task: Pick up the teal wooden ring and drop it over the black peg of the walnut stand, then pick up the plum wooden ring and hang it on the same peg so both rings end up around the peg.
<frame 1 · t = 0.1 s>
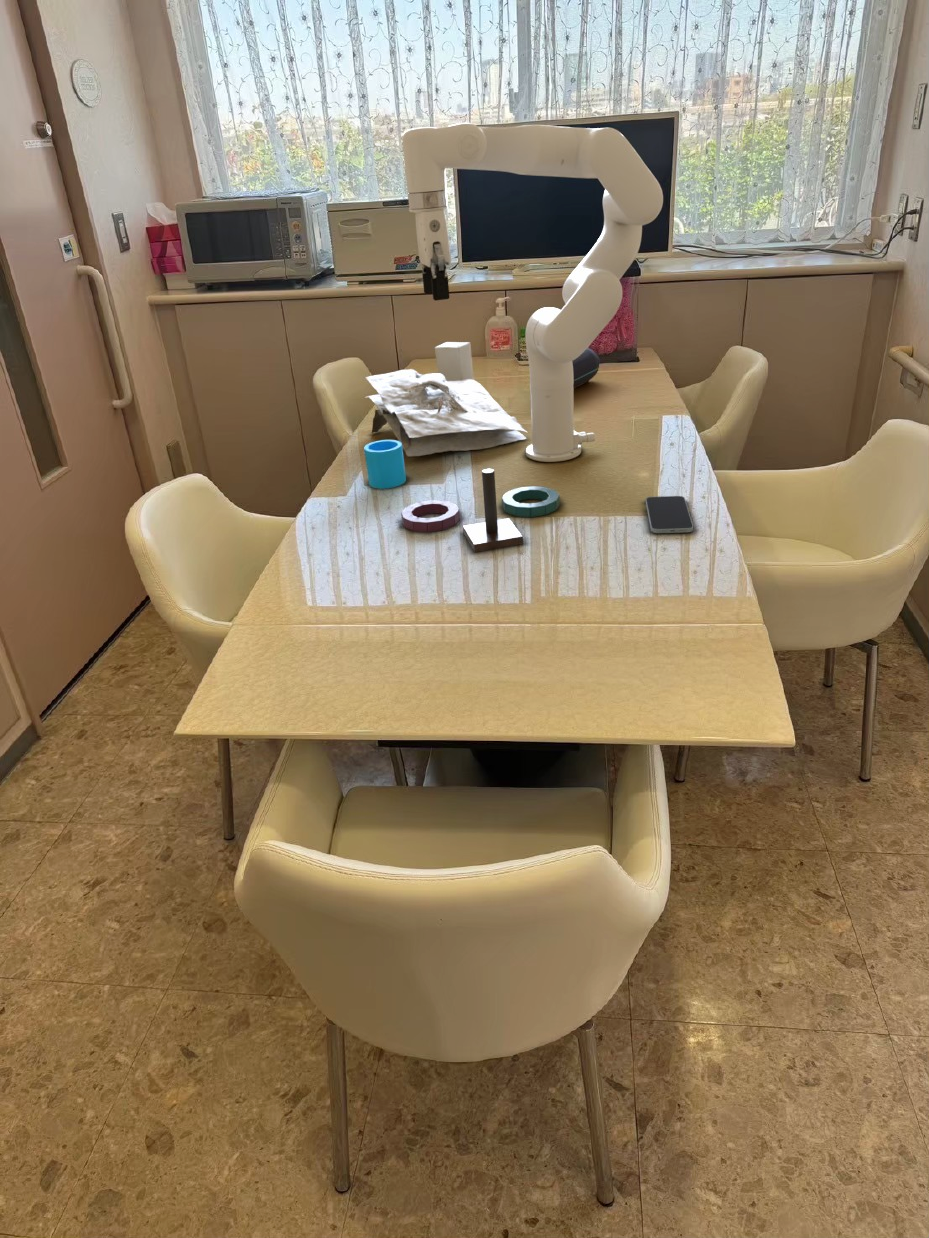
hand: (436, 296, 168), 37 cm above the table, tool pointing down, fingers open, 9 cm apart
teal ring: (530, 506, 163), on the table
cosmetic box: (457, 401, 236), on the table
plum ring: (431, 520, 161), on the table
portable speaker: (566, 390, 236), on the table
mug: (390, 479, 184), on the table
plastic wrap: (445, 435, 209), on the table
smartphone: (668, 517, 153), on the table
peg stand: (492, 538, 151), on the table
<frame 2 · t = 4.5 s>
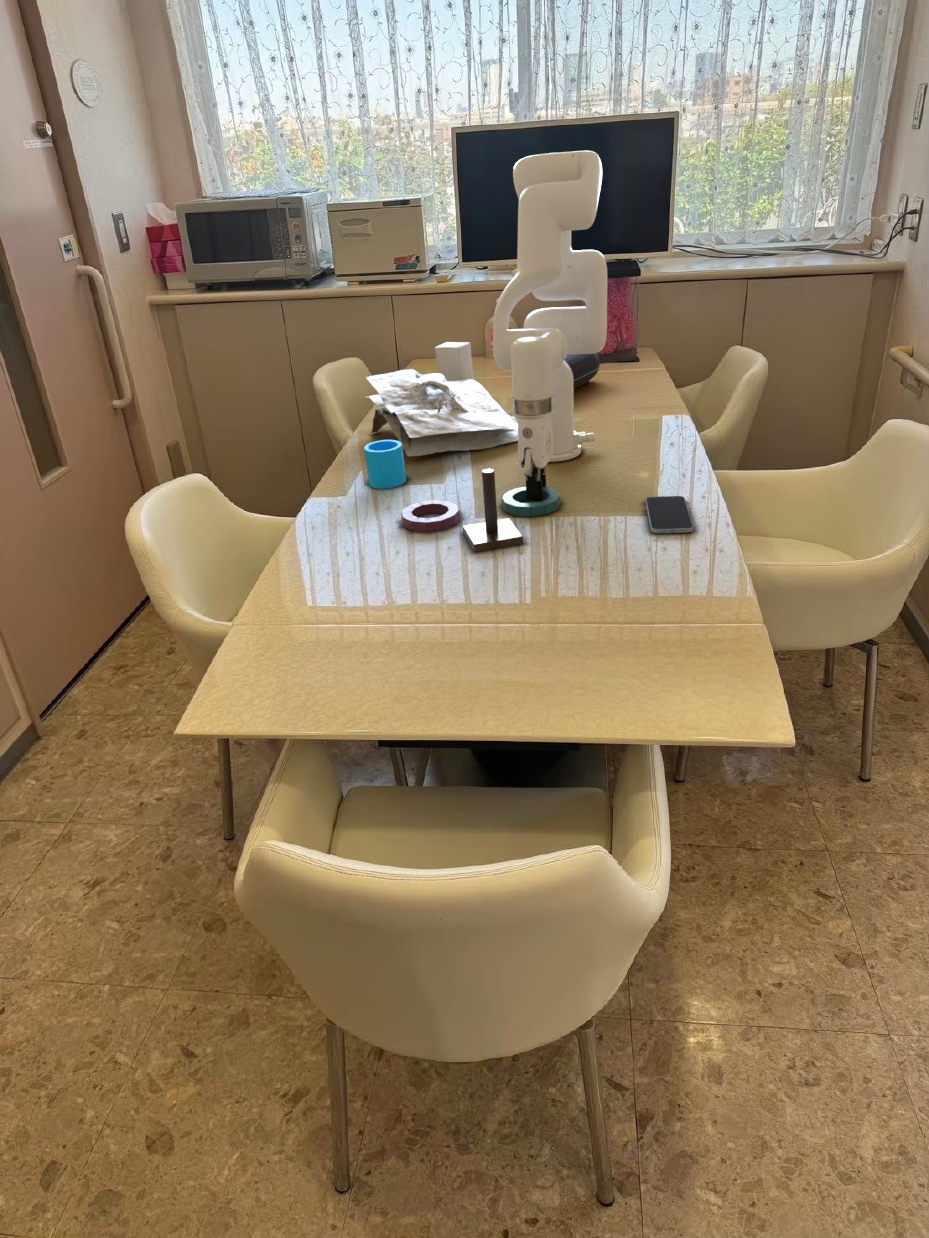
hand: (536, 495, 167), 0 cm above the table, tool pointing down, fingers closed on teal ring, 2 cm apart
teal ring: (531, 505, 163), on the table, touching gripper
everything else where it was.
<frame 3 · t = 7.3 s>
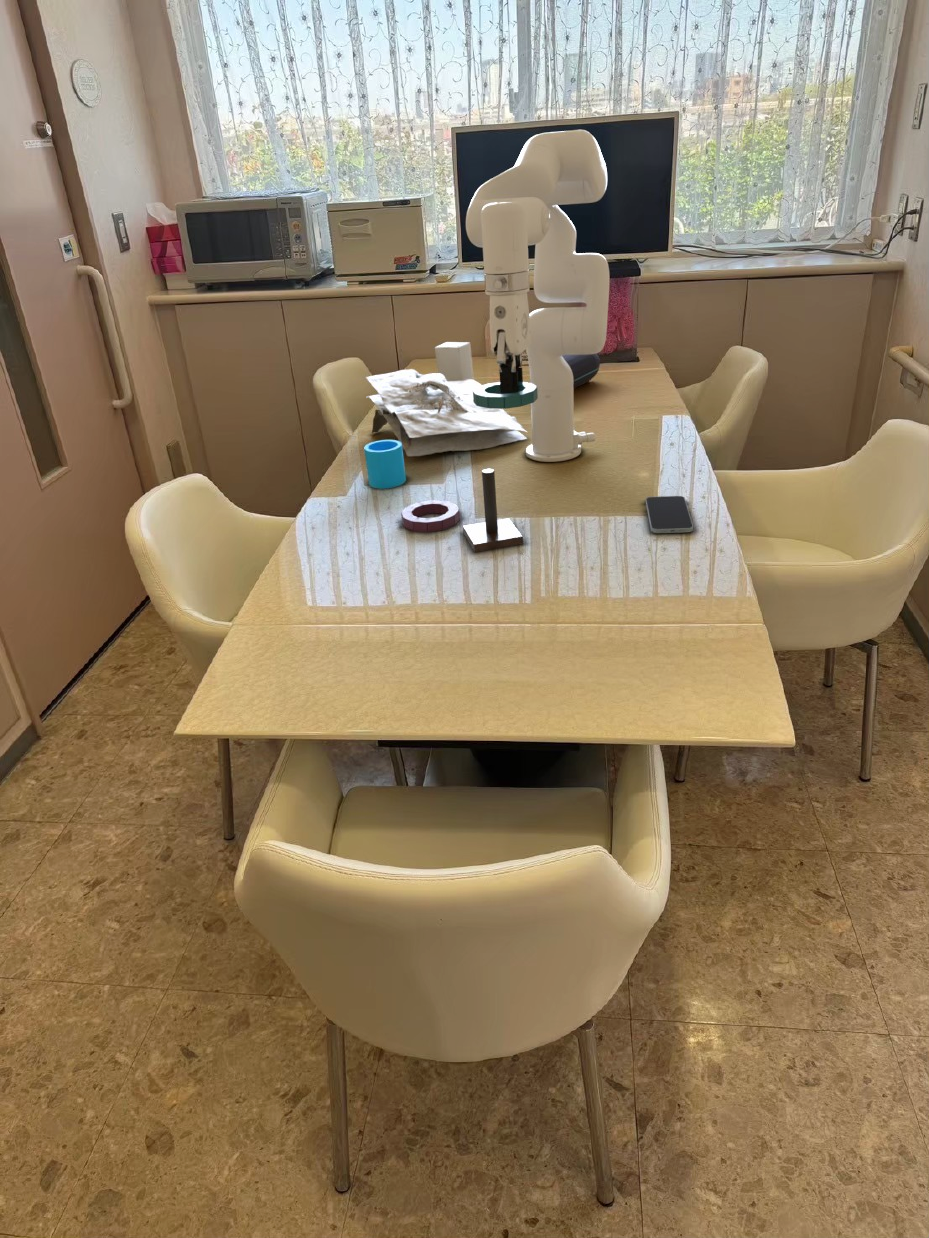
hand: (511, 391, 149), 24 cm above the table, tool pointing down, fingers closed on teal ring
teal ring: (505, 400, 146), point 23 cm above the table, touching gripper
everything else where it was.
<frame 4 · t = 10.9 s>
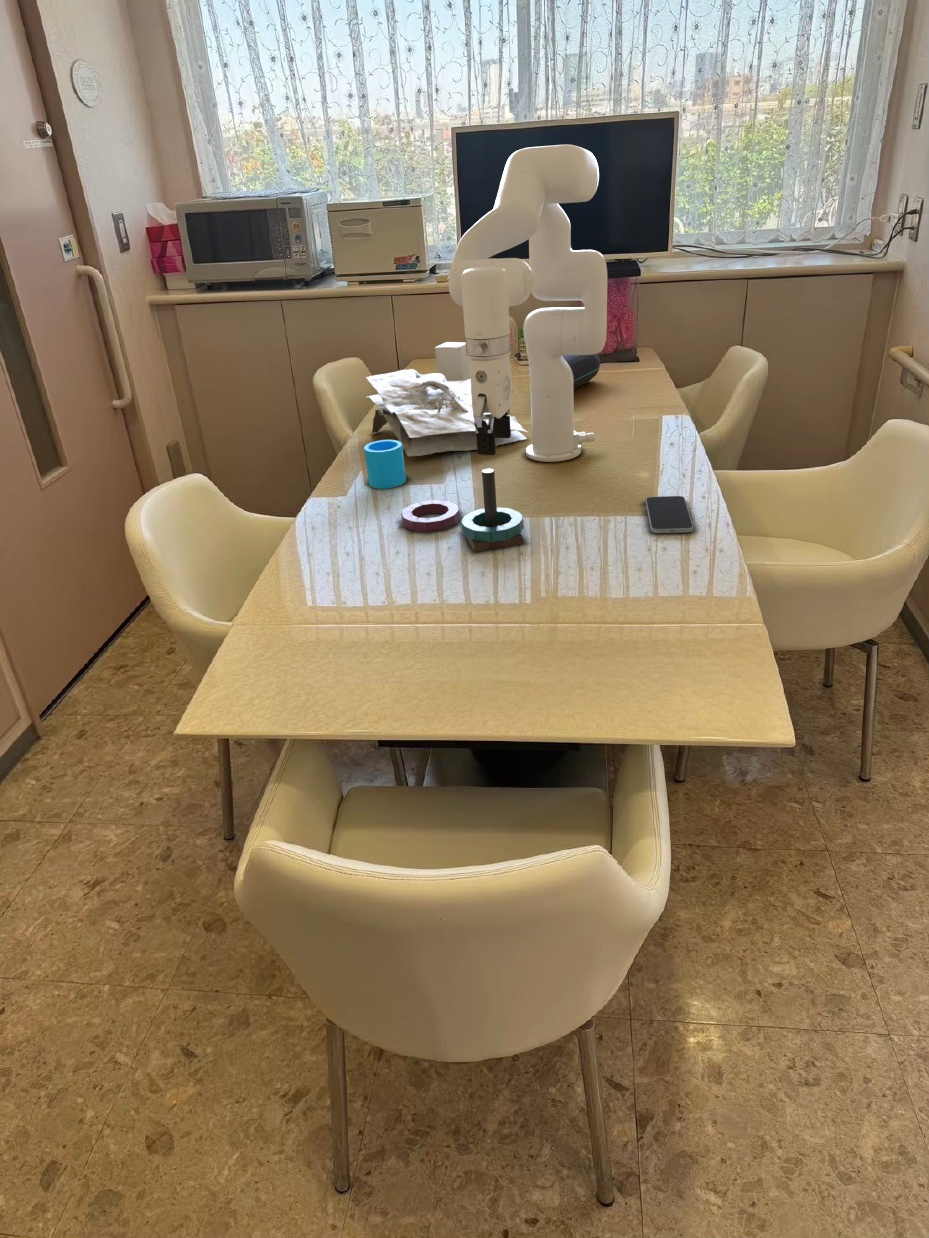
hand: (494, 445, 147), 16 cm above the table, tool pointing down, fingers open, 8 cm apart
teal ring: (492, 529, 151), point 1 cm above the table, touching peg stand
everything else where it was.
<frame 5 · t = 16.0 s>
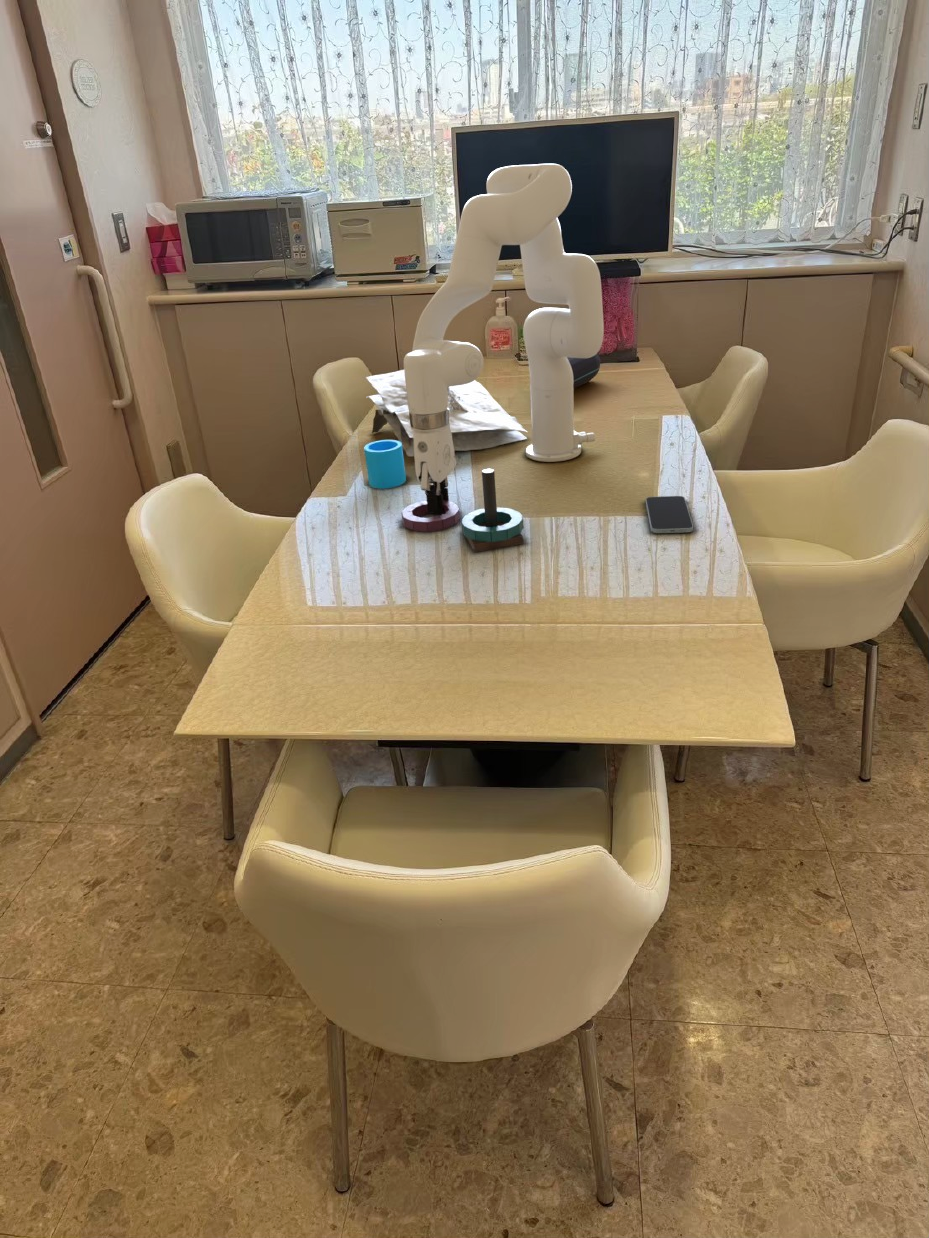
hand: (438, 509, 164), 0 cm above the table, tool pointing down, fingers closed on plum ring, 2 cm apart
plum ring: (431, 520, 161), on the table, touching gripper
everything else where it was.
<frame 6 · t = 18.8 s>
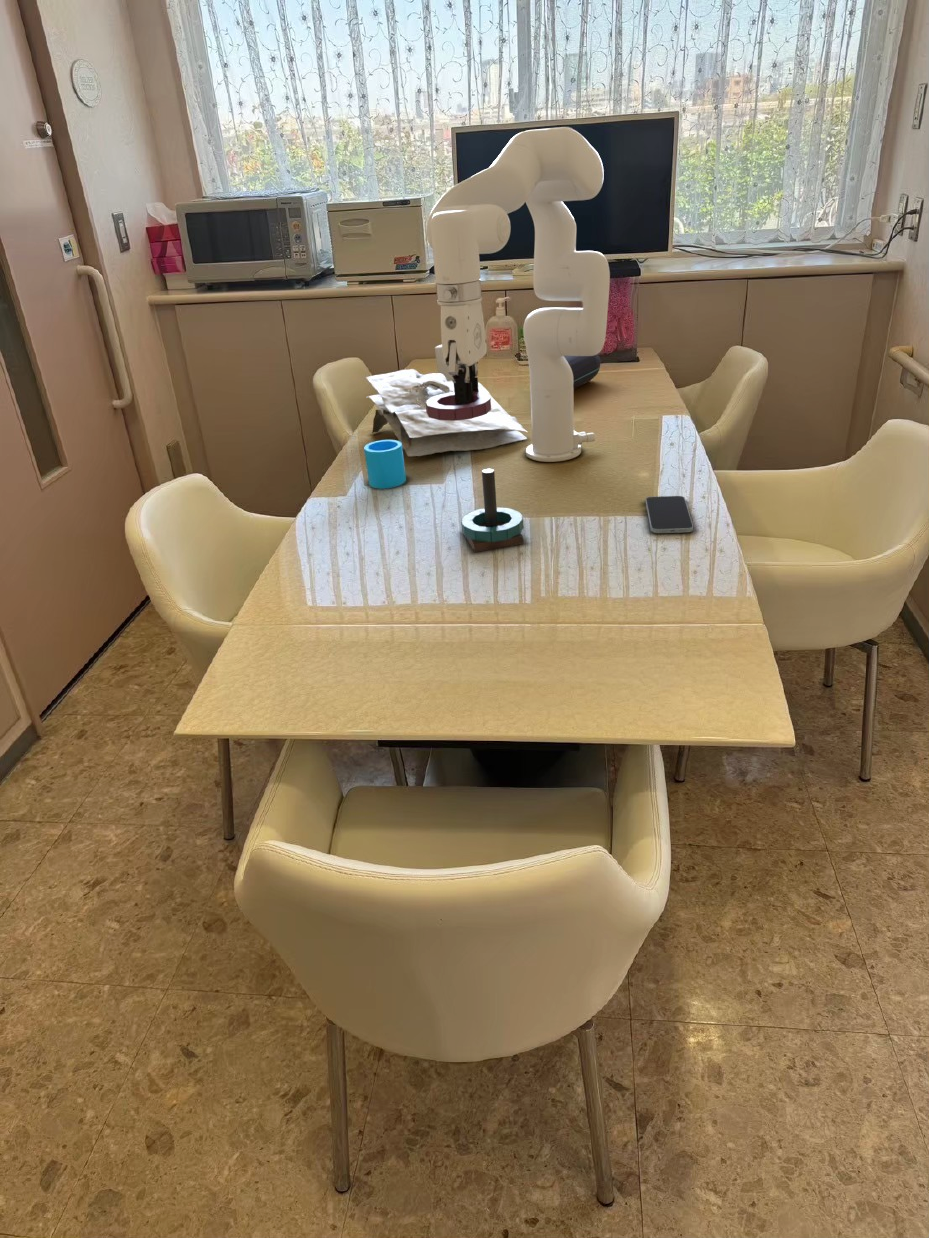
hand: (467, 401, 147), 23 cm above the table, tool pointing down, fingers closed on plum ring
plum ring: (458, 411, 144), point 23 cm above the table, touching gripper
everything else where it was.
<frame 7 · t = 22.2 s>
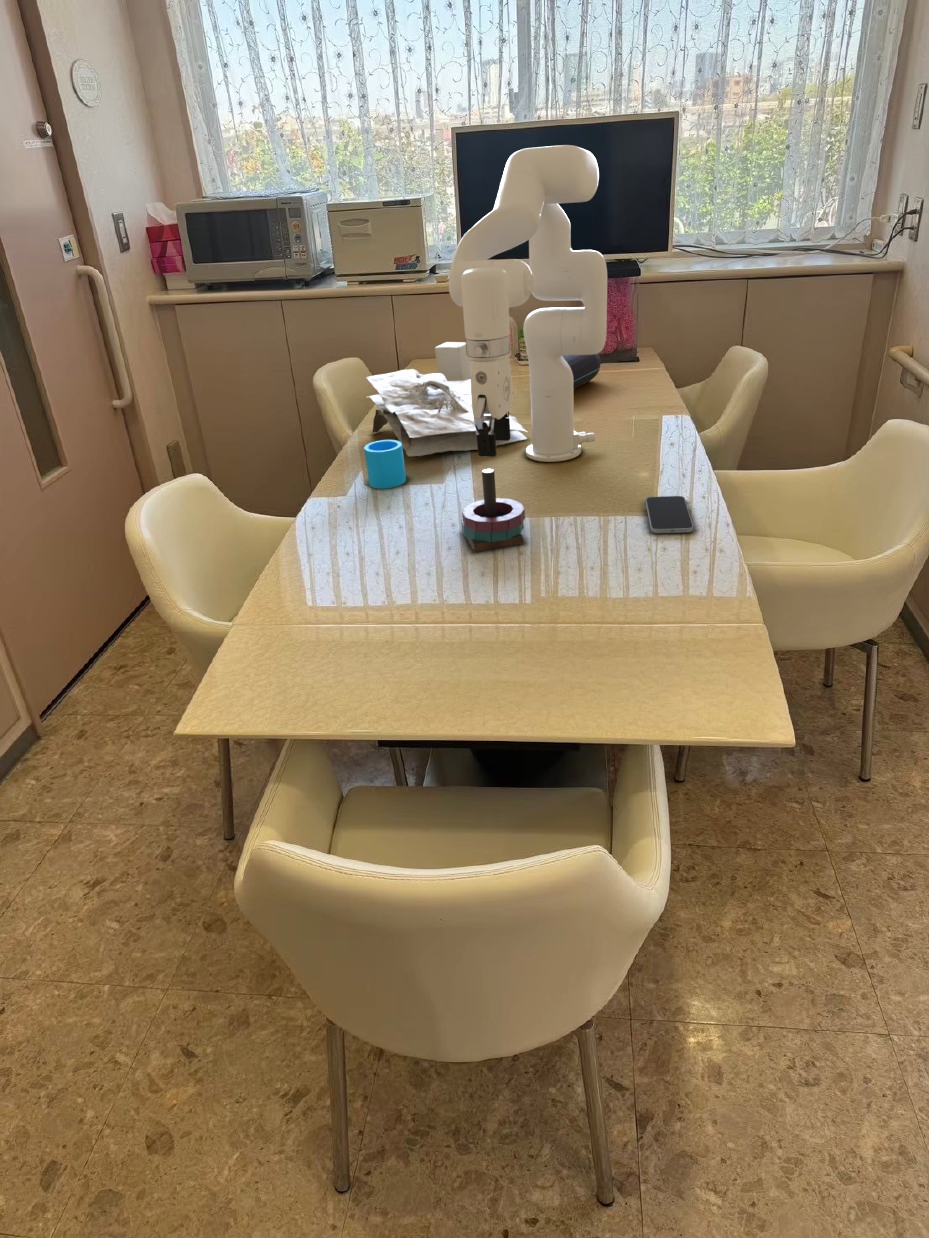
hand: (494, 447, 147), 16 cm above the table, tool pointing down, fingers open, 8 cm apart
teal ring: (492, 529, 151), point 1 cm above the table, touching peg stand, plum ring
plum ring: (493, 520, 150), point 3 cm above the table, touching teal ring
everything else where it was.
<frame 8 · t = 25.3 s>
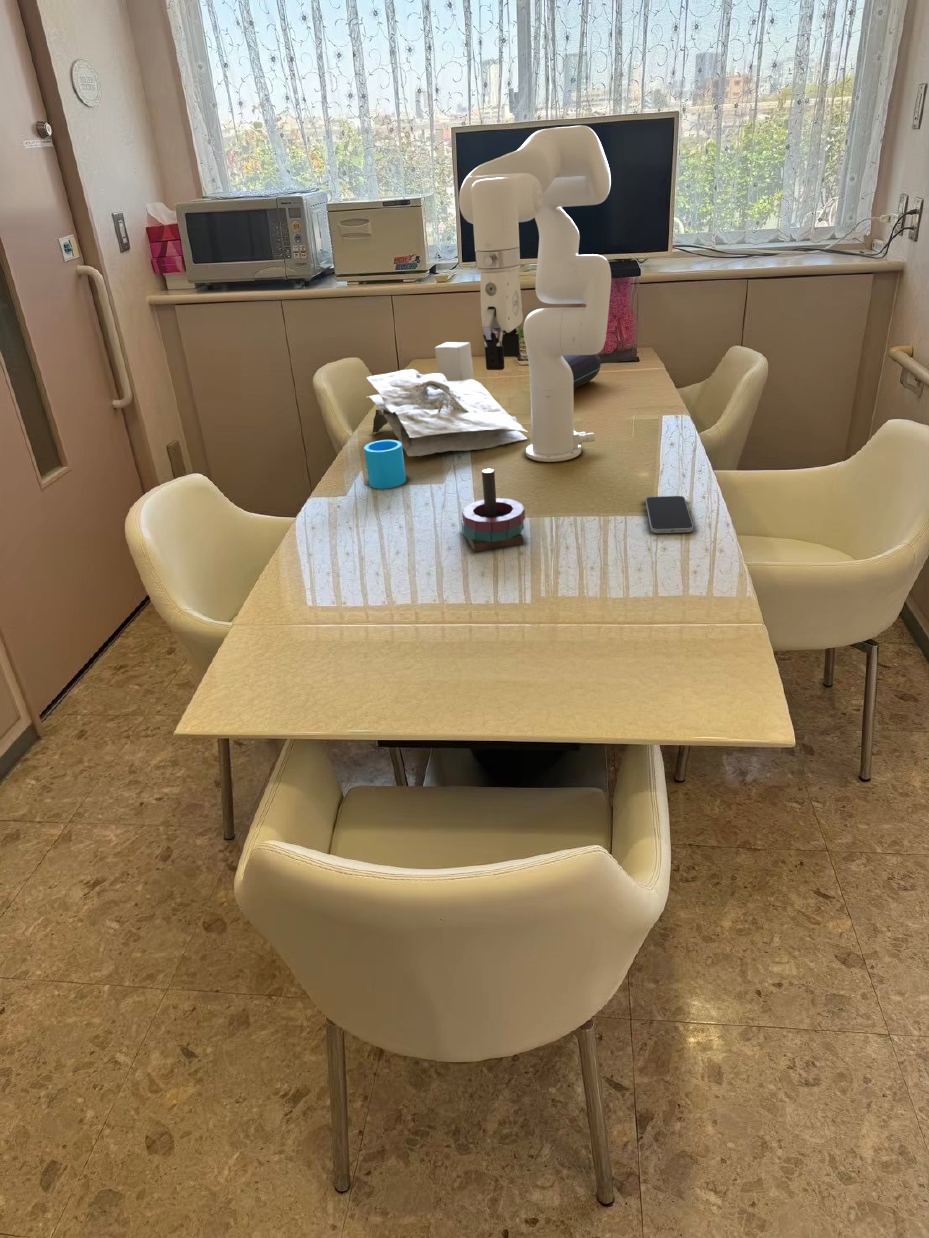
hand: (503, 362, 149), 28 cm above the table, tool pointing down, fingers open, 9 cm apart
nothing on the table moved.
at the end: teal ring 0.8 cm from the peg stand (horizontally); plum ring 0.5 cm from the peg stand (horizontally); plum ring point 3.5 cm above the table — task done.
